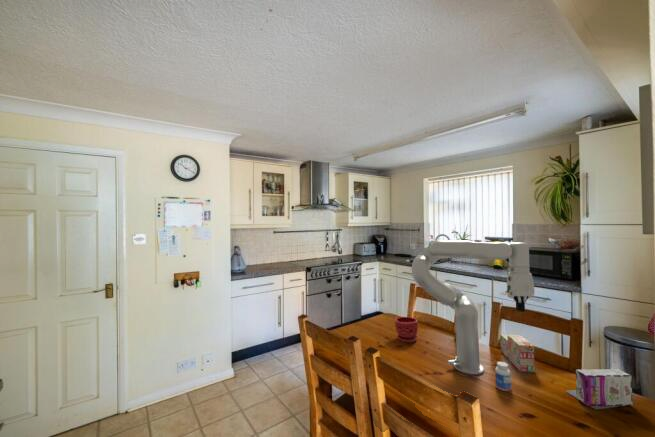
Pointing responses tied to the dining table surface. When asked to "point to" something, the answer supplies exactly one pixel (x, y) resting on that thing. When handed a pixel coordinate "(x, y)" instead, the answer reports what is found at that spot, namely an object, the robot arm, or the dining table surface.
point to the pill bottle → (503, 376)
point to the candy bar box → (604, 387)
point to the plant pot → (406, 329)
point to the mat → (574, 394)
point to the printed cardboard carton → (518, 351)
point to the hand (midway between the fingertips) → (520, 310)
